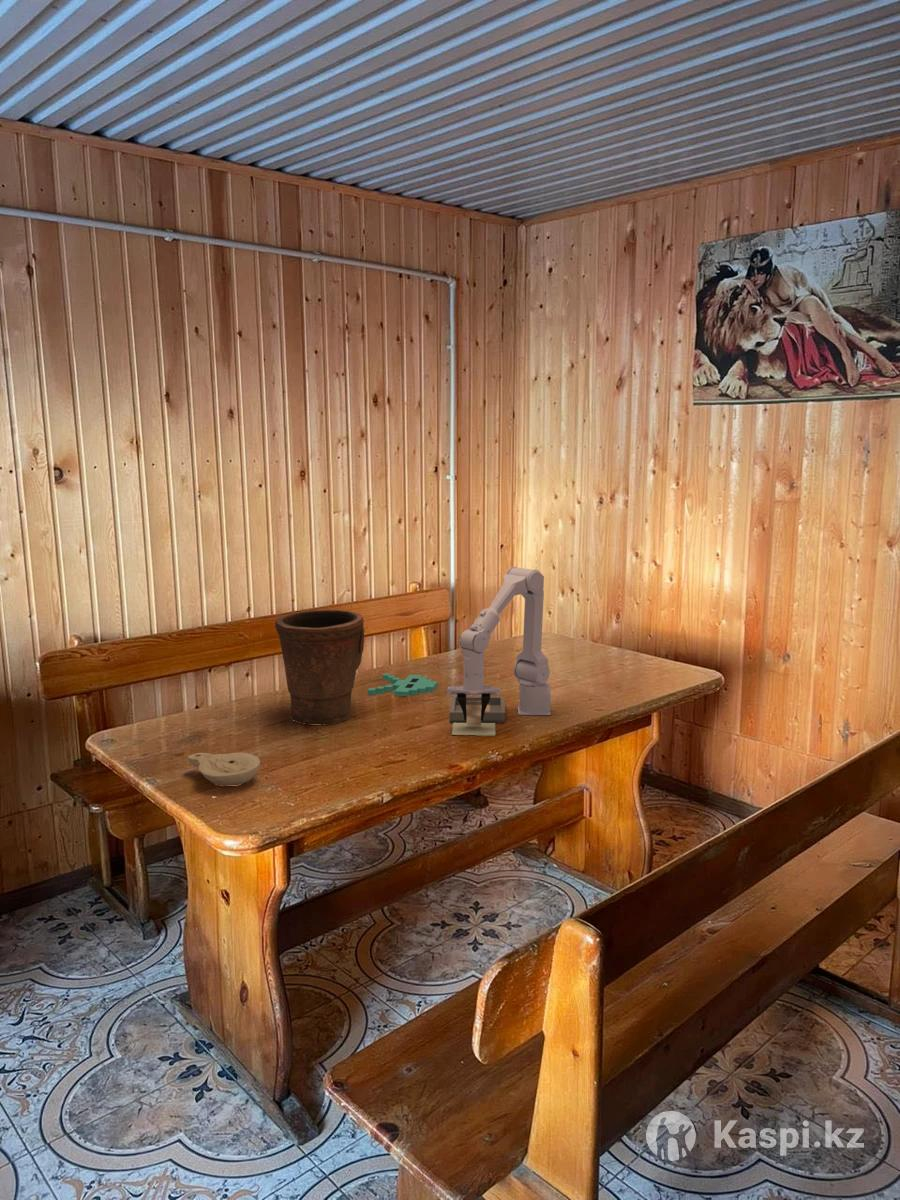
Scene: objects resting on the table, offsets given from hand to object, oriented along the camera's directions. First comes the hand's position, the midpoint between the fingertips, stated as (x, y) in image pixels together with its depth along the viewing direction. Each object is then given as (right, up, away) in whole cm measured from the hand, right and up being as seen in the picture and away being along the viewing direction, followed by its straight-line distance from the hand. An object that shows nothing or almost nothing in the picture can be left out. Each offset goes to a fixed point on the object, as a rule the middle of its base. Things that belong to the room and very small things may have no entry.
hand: (473, 719), depth 250 cm
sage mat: (0, -3, +1) cm, 3 cm away
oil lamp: (-63, -10, -34) cm, 72 cm away
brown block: (0, -1, +1) cm, 1 cm away
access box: (+2, -1, +14) cm, 14 cm away
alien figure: (-21, +4, +43) cm, 48 cm away
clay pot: (-43, -1, +16) cm, 46 cm away
